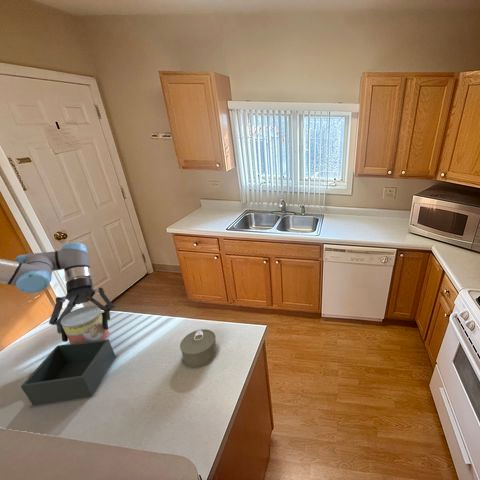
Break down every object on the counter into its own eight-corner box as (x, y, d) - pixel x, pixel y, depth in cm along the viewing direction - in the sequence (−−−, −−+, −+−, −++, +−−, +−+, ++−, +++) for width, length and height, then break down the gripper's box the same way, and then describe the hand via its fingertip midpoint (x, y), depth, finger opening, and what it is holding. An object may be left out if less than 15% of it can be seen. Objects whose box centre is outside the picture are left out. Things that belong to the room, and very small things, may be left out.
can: (181, 371, 90) (177, 357, 87) (185, 346, 100) (182, 332, 97) (217, 363, 94) (214, 349, 91) (218, 339, 104) (215, 326, 101)
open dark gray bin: (33, 405, 77) (20, 386, 74) (66, 363, 91) (57, 345, 87) (92, 396, 81) (82, 377, 77) (115, 356, 94) (108, 339, 91)
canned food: (84, 355, 93) (72, 329, 88) (64, 345, 96) (52, 320, 91) (116, 334, 102) (107, 310, 97) (97, 326, 106) (88, 302, 101)
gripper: (118, 275, 110) (126, 324, 104) (41, 291, 97) (47, 348, 92) (114, 270, 104) (123, 322, 98) (32, 286, 91) (37, 347, 86)
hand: (86, 335), depth 95 cm, fingers closed on canned food, 11 cm apart
